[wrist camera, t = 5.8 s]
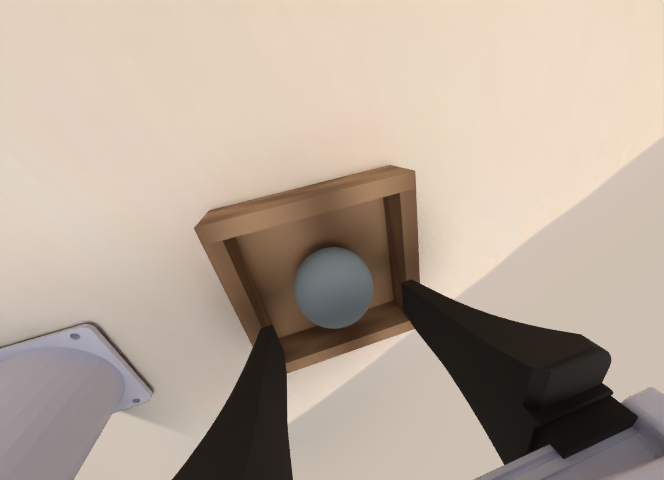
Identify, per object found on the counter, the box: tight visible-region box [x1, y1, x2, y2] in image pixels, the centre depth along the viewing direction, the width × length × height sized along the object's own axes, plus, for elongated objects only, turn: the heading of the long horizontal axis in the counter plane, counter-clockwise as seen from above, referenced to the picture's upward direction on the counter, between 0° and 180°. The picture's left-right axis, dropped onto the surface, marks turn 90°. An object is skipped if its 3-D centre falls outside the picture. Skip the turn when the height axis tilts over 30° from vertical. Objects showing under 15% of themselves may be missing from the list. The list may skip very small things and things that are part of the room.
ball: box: [294, 247, 374, 329], centre depth 15 cm, size 5×5×5 cm
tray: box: [194, 165, 420, 373], centre depth 16 cm, size 12×12×3 cm
